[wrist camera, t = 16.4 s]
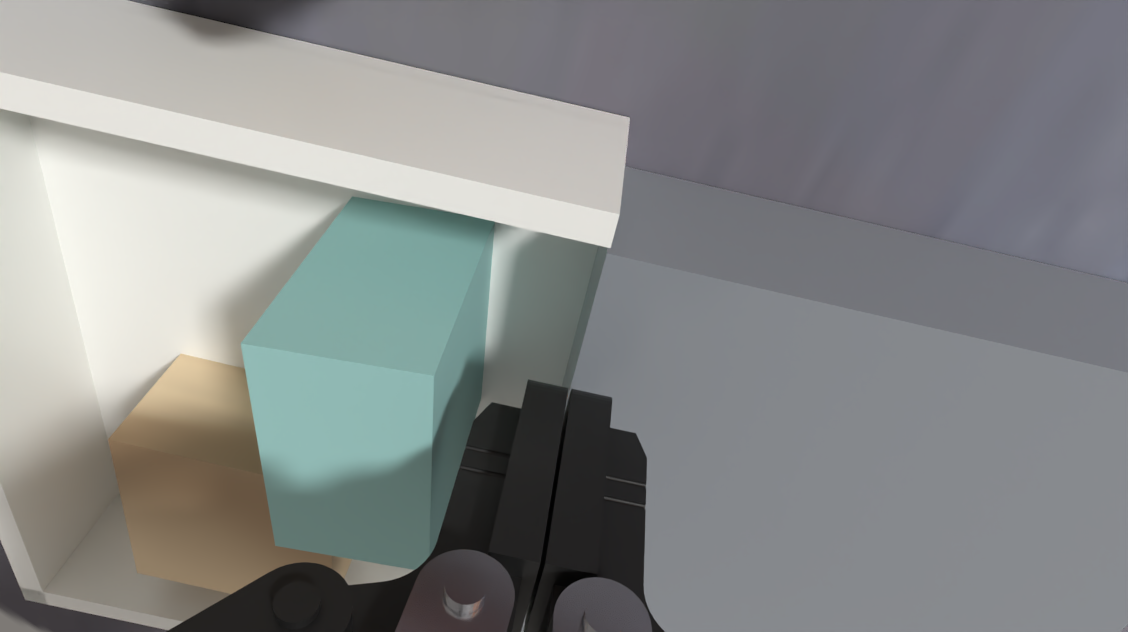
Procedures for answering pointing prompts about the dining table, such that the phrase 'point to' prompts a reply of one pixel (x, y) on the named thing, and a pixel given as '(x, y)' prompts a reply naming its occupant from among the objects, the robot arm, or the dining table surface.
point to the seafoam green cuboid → (371, 381)
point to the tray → (234, 240)
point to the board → (859, 421)
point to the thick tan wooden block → (199, 482)
